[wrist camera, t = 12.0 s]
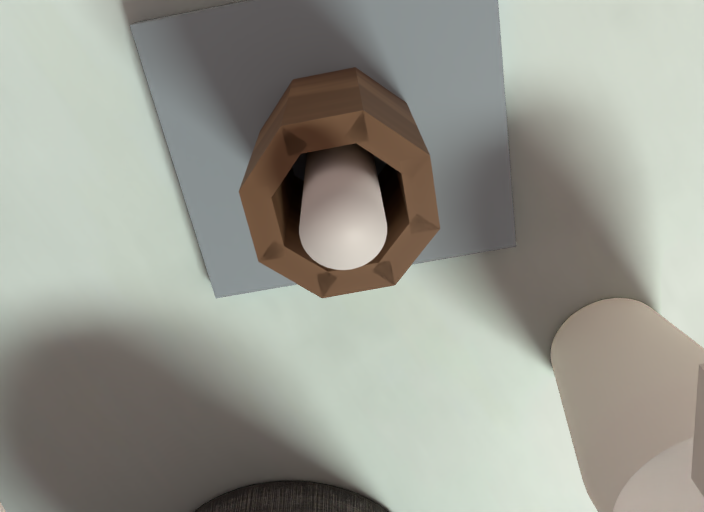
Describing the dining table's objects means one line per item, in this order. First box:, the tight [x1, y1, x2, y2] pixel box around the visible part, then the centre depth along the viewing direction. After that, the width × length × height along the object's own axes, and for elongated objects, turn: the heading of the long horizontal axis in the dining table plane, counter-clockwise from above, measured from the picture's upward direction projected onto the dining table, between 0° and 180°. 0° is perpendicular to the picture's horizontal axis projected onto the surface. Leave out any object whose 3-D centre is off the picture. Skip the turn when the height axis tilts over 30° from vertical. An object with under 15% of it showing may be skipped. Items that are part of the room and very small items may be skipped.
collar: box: [239, 67, 440, 298], centre depth 28 cm, size 7×7×8 cm
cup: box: [551, 298, 704, 512], centre depth 33 cm, size 9×9×12 cm
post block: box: [130, 0, 516, 298], centre depth 27 cm, size 16×14×11 cm
